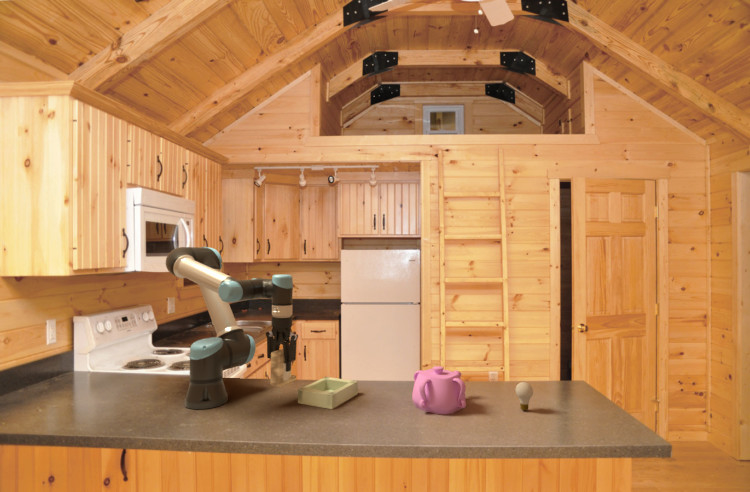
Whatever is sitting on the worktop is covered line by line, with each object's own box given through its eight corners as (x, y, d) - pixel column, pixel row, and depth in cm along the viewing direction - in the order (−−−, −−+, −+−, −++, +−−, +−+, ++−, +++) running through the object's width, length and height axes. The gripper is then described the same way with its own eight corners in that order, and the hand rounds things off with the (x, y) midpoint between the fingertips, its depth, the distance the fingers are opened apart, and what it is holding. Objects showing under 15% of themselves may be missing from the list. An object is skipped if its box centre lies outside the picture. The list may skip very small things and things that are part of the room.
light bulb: (533, 408, 158) (532, 380, 158) (533, 414, 152) (533, 385, 153) (515, 407, 160) (515, 379, 160) (515, 412, 154) (515, 383, 154)
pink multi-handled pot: (413, 415, 153) (413, 373, 153) (411, 395, 173) (411, 359, 174) (469, 416, 152) (469, 374, 152) (461, 396, 172) (460, 359, 173)
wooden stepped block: (270, 385, 163) (271, 352, 163) (287, 378, 172) (288, 347, 172) (279, 386, 161) (279, 353, 161) (295, 379, 170) (296, 348, 170)
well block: (297, 403, 166) (297, 389, 166) (325, 388, 183) (325, 376, 183) (331, 409, 159) (331, 395, 159) (357, 393, 176) (357, 381, 176)
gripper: (257, 315, 166) (256, 378, 166) (294, 319, 158) (293, 385, 158) (270, 312, 172) (269, 373, 172) (306, 316, 165) (305, 379, 165)
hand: (280, 378), depth 165 cm, fingers closed on wooden stepped block, 4 cm apart
